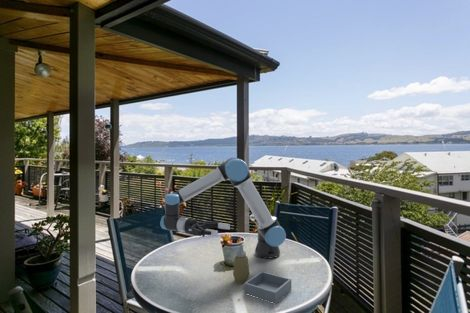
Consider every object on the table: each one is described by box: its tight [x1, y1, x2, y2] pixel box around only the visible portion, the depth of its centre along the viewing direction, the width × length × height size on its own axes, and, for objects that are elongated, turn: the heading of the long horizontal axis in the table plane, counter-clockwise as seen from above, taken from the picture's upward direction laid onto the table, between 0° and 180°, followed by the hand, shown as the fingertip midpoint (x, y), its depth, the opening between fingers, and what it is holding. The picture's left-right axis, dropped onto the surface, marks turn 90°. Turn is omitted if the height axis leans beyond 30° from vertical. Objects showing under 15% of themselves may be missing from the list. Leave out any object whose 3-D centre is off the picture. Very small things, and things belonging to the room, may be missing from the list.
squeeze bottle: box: [232, 244, 251, 284], centre depth 151 cm, size 8×8×18 cm
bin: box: [243, 271, 292, 304], centre depth 141 cm, size 16×16×5 cm
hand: (223, 230), depth 154 cm, fingers open, 13 cm apart
